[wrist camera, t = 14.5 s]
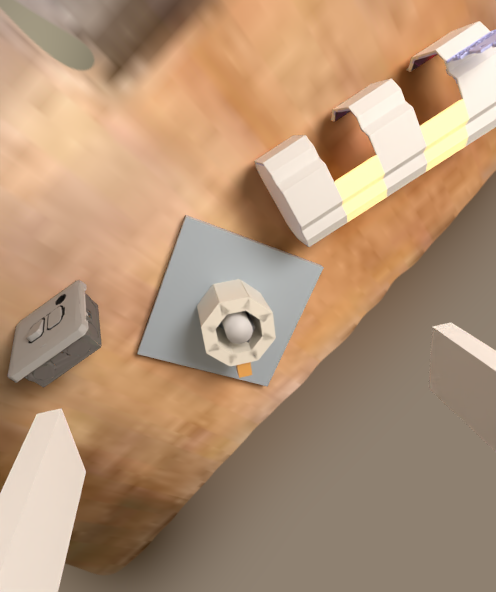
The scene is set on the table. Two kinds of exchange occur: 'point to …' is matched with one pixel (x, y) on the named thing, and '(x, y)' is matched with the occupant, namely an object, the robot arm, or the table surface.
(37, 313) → the electrical switch
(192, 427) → the table surface
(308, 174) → the striped octagonal tube
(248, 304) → the beige octagonal hollow block
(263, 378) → the shaft plate
